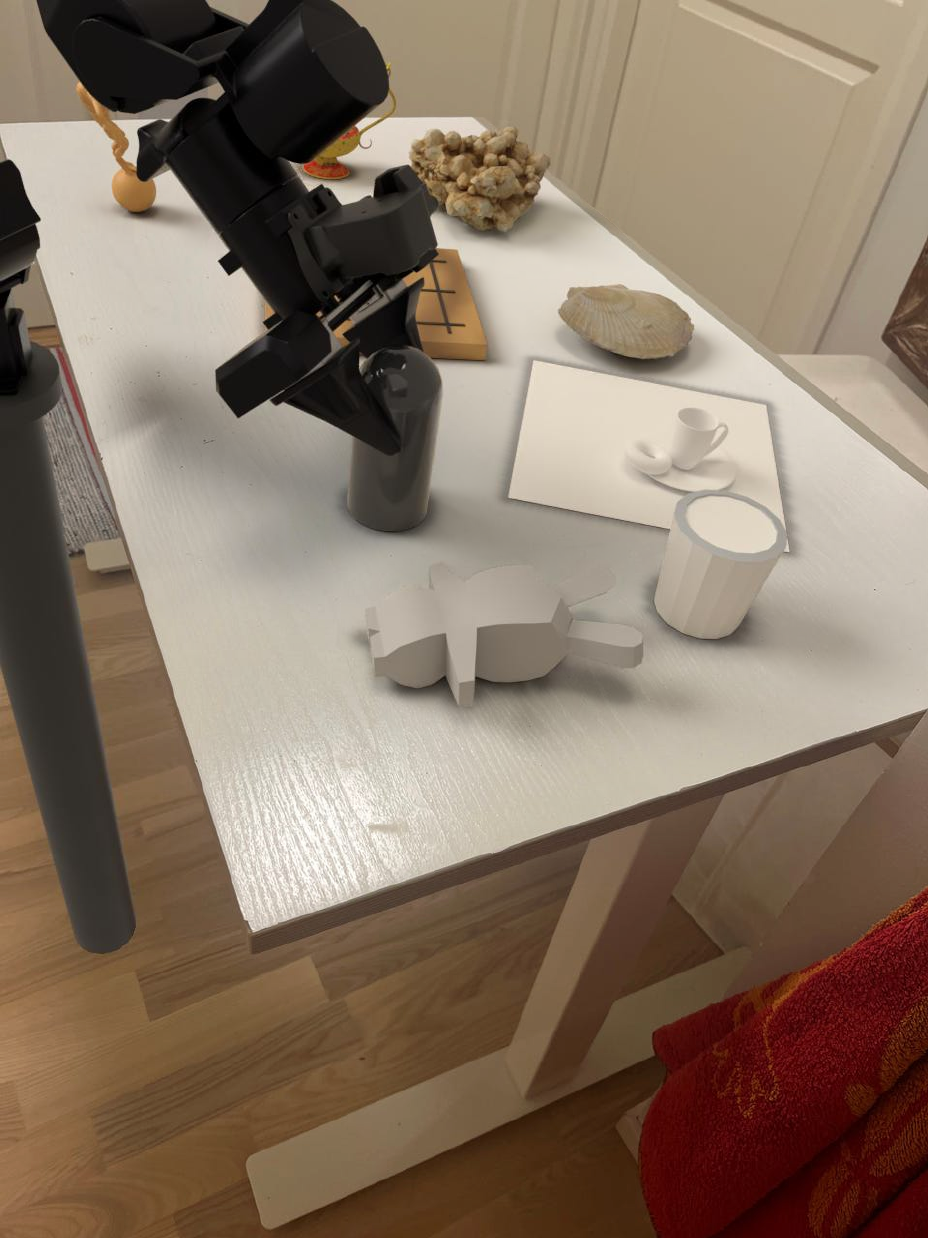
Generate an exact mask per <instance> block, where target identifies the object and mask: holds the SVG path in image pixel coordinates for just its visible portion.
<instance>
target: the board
mask: <svg viewBox="0 0 928 1238" xmlns="http://www.w3.org/2000/svg"><path fill="white" fill-rule="evenodd" d="M435 249H436V250H437V252H438V254H439V255H438V256H437V257H436V258H434V259H433V260H432V261H431V262H430V263H429V264H428V265H427V266H426V267H425V268H423V269H422V270H420V271H419V272H417V273H416V272H412V273H411V274H409V275H408V276H406V277H405V278H403V280H404V282H405V283H406V285H407V286H409V285H411V284H413V283H414V282H416V281H417V280H419V279H420V278H422V277H424V280H425V284H424V287H423V288H422V289H421V292H420V296H419V301H418V305H417V310H416V323H417V328H418V332H419V336H420V340H421V344H422V347H423V350H424V353H425V354H427V355H428V356H429V357H430V358H431V359H444V360H445V359H446V360H447V359H449V360H470V361H471V360H472V361H486V357H487V351H488V345H489V344H488V342H487V338H486V334H485V332H484V329H483V326H482V323H481V320H480V319H481V318H480V316H479V313H478V309H477V307H476V304H475V301H474V297H473V295H472V291H471V288H470V284H469V282H468V278H467V276H466V273H465V272H466V271H465V269H464V266H463V263H462V259H461V257H460V254H459V250H458V249H454V248H441V247H436V248H435ZM334 297H335V298H336V300H338V298H337V296H336V295H335V296H334ZM264 313H265V314H264V316H265V317H264V318H265V319H264V321H265V320H266V319H267V318H268V317H270V316H271V315H272V314H274V312H273V311H272V309H271V308H270V306H269V305H268V304H267V302H266V301H265V300H264ZM316 315H317V316H318V317H319V316H320V315H321V312H318V313H317V314H316ZM352 325H353V322H352V321H351V319H350V318H348V319H347V320H346V321H345V322H344V323H343V324H341V325H340V326H339V327H338V328H337V329H336V330H335V331H333V333H334V334H335V336H336V337H337V339H338V340H339V341H340V343H341V344H342V346H343V347H344V346H346V345H347V344H349V343H350V342H349V341H348V340H347V339H346V338H345V337H344V336H343V335H342V334H343V333H344V332H345V331H346V330H347V329H349V328H350V327H351V326H352ZM264 328H265V332H266V331H267V330H268V329H267V328H266V326H265V325H264ZM360 356H363V355H362V354H361V353H360Z"/></svg>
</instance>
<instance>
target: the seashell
mask: <svg viewBox="0 0 928 1238" xmlns="http://www.w3.org/2000/svg"><path fill="white" fill-rule="evenodd" d="M566 297H567V299H566V300H564V301H563V302H562V303H561V305H560V307H559V308H558V310H557V314H558V315H559V318H560V319H561V320H562V321H563V322H564V323H565V324H566V325H567V327H569V328H570V329H571V330H572V331H573V332H574V333H576V334H577V335H580V337H581V338H583V339H584V340H586V341H589V343H591V344H593V345H595V346H597V347H598V348H601V349H604V350H605V351H609V352H611V353H614V354H617V355H621V356H625V357H629V358H636V359H640V360H646V359H647V360H650V359H654V360H657V359H660V358H666V357H674V356H675V354H678V352H679V351H681V350H683V349H684V348H685V347H687V346H689V342H691V341H692V340H693V333H694V332H693V331H695V324H693V323H692V318H691V317H690V315H689V313H688V312H687V311H685V310H684V309H683V308H681V306H680V305H679V304H678V303H677V302H676V301H674V300H672V299H670V298H669V297H666V296H664V295H662V294H659V293H656V292H650V291H644V290H637V289H631V288H628V287H627V286H625V285H624V284H622V283H621V284H620V283H617V284H609V285H599V286H595V285H594V286H573V287H569V289H568V291H567V293H566Z"/></svg>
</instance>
